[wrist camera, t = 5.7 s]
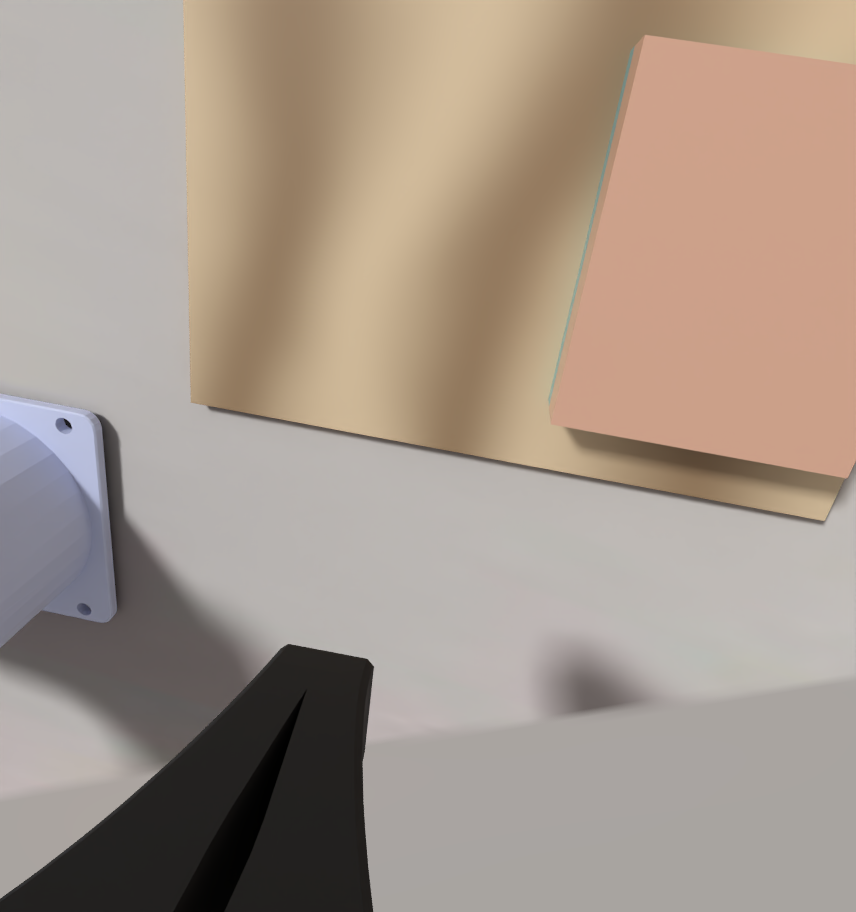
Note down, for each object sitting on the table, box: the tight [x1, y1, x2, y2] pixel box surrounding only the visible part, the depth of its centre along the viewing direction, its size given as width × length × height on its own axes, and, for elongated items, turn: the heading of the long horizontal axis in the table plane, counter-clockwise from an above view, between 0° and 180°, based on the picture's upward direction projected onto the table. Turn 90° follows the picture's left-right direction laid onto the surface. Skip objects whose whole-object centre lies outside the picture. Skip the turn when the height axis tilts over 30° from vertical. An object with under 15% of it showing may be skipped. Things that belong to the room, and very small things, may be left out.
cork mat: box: [183, 0, 856, 521], centre depth 14 cm, size 18×18×1 cm
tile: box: [548, 35, 856, 478], centre depth 14 cm, size 2×8×7 cm
